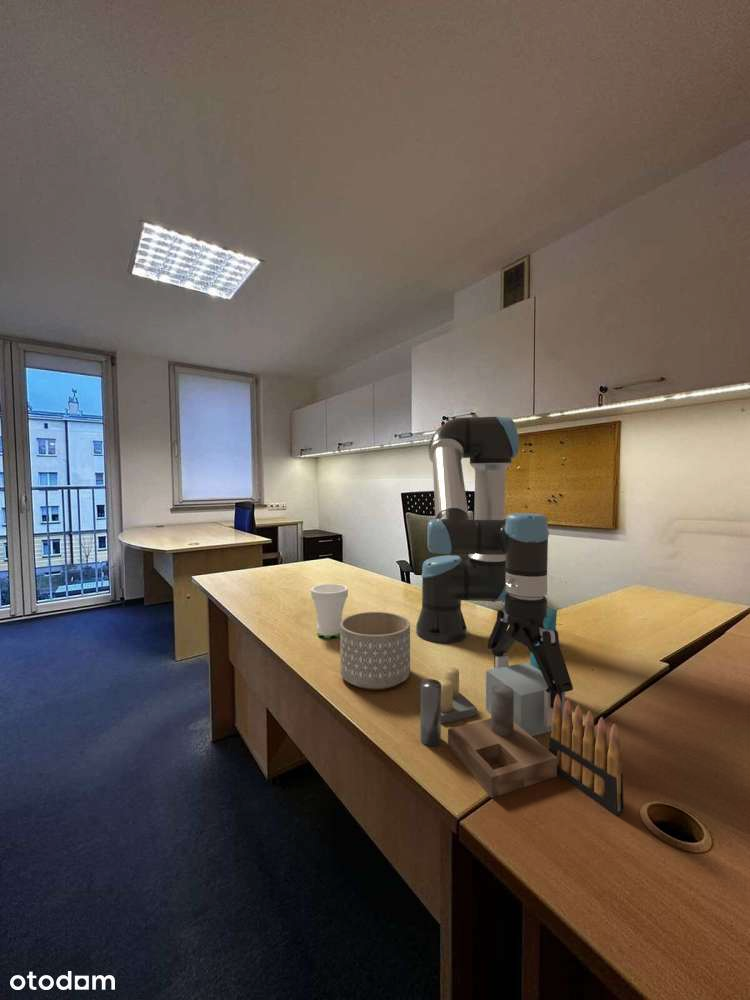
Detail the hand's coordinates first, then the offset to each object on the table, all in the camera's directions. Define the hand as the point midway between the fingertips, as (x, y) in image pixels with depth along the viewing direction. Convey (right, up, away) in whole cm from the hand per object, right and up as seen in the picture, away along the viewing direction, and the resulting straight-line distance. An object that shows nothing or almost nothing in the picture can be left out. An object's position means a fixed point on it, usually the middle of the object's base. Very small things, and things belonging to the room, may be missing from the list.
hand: (524, 704), depth 75 cm
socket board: (-9, -3, -12) cm, 15 cm away
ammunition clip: (+2, -4, -17) cm, 18 cm away
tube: (+7, -3, +9) cm, 12 cm away
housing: (0, -3, 0) cm, 3 cm away
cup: (-42, -2, +43) cm, 60 cm away
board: (-14, -3, +3) cm, 15 cm away
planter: (-29, -3, +17) cm, 34 cm away
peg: (-19, -3, -6) cm, 20 cm away
